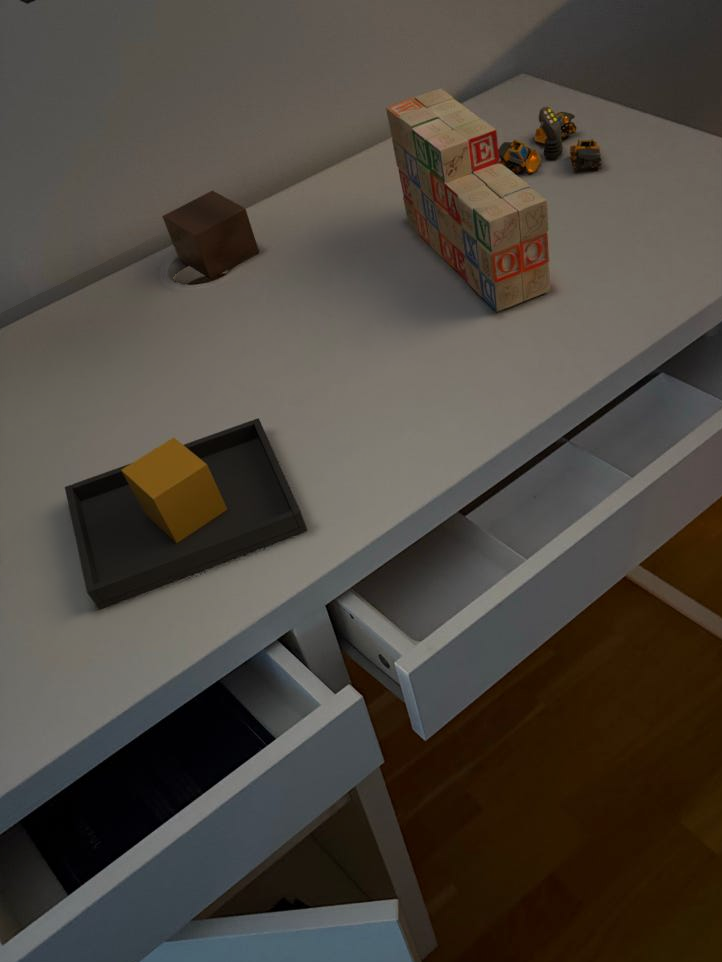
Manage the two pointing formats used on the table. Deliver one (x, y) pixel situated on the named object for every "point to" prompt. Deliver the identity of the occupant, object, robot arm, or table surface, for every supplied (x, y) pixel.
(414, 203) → the stack of blocks
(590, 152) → the toy set
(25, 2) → the robot arm
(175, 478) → the top cube
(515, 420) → the table surface
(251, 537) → the tray
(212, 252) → the base block
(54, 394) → the table surface
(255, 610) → the table surface
